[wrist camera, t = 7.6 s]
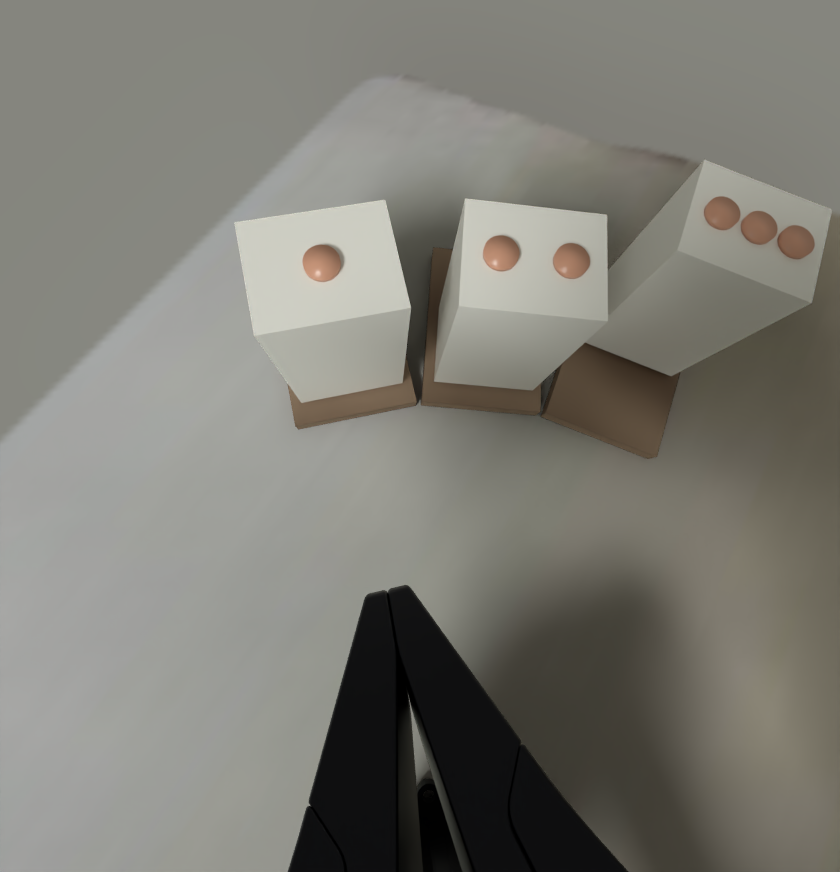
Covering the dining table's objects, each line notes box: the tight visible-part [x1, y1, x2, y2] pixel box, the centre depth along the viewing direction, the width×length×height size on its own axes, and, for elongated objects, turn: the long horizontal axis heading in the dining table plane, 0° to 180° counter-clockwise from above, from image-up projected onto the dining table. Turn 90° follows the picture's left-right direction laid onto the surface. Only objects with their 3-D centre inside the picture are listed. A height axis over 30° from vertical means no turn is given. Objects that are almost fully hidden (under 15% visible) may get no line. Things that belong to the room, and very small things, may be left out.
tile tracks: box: [288, 247, 680, 459], centre depth 24 cm, size 22×16×1 cm
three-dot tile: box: [585, 160, 832, 376], centre depth 20 cm, size 4×5×8 cm
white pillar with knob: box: [234, 200, 411, 403], centre depth 19 cm, size 4×5×8 cm
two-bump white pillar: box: [434, 198, 608, 391], centre depth 19 cm, size 4×5×8 cm
